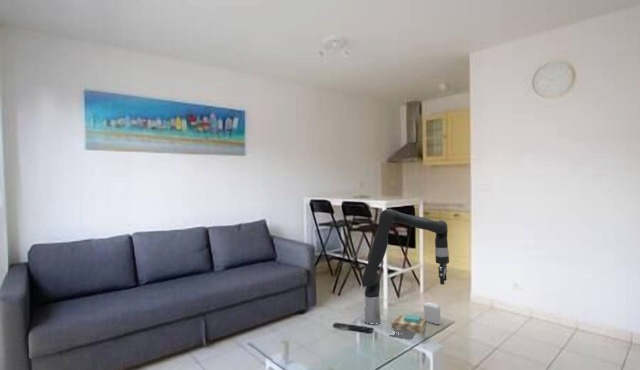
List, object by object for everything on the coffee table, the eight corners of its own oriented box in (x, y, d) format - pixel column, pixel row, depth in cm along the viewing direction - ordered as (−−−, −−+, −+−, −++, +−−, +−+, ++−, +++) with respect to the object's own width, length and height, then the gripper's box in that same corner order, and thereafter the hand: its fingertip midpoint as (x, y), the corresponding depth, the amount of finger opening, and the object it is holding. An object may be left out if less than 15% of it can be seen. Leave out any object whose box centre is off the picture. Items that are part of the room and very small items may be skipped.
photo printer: (423, 321, 225) (422, 302, 225) (427, 319, 227) (426, 300, 227) (438, 325, 217) (437, 305, 217) (442, 323, 219) (440, 303, 219)
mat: (389, 336, 205) (389, 335, 205) (393, 329, 214) (393, 329, 214) (411, 339, 199) (411, 339, 199) (415, 332, 208) (415, 332, 208)
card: (403, 321, 216) (403, 318, 216) (406, 317, 222) (406, 314, 222) (418, 323, 212) (418, 319, 212) (420, 319, 217) (420, 316, 217)
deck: (392, 328, 216) (391, 322, 216) (397, 321, 226) (397, 315, 226) (421, 333, 207) (421, 326, 207) (426, 325, 218) (425, 318, 218)
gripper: (437, 252, 215) (438, 278, 215) (433, 257, 203) (434, 285, 203) (450, 252, 212) (451, 279, 212) (446, 257, 199) (448, 286, 199)
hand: (443, 282), depth 207 cm, fingers open, 8 cm apart
